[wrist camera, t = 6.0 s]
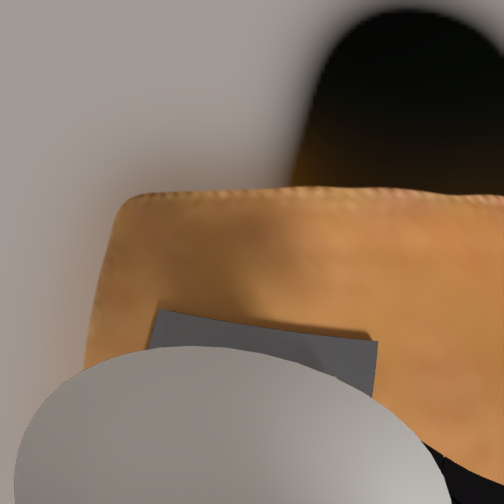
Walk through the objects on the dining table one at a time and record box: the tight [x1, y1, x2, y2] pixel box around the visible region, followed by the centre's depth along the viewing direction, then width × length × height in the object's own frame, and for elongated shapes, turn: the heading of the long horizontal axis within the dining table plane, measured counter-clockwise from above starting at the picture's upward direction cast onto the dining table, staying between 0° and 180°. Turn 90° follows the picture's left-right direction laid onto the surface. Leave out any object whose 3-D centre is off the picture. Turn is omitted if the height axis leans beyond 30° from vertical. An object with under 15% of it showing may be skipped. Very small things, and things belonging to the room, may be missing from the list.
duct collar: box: [148, 309, 378, 398], centre depth 17 cm, size 16×16×4 cm
